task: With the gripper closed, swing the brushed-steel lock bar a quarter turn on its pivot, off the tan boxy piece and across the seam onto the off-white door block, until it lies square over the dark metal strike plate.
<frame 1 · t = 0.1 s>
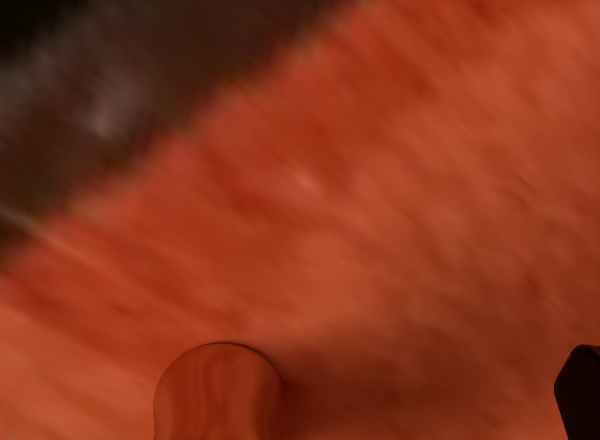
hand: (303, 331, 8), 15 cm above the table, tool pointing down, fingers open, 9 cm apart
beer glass: (220, 398, 26), on the table
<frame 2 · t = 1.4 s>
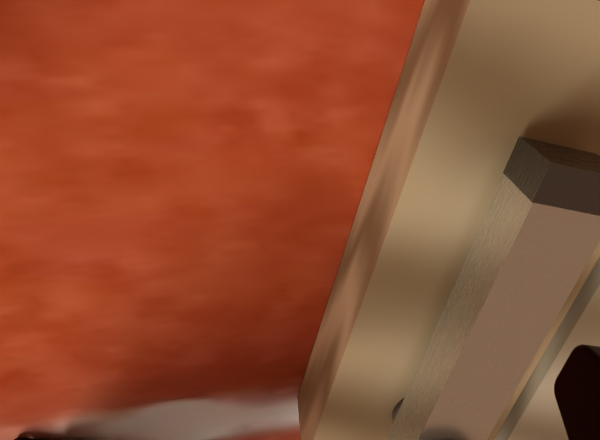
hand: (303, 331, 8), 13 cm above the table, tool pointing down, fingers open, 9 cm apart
latch bar: (487, 343, 18), point 6 cm above the table, hinge at 0.0°
tan boxy piece: (549, 257, 24), on the table
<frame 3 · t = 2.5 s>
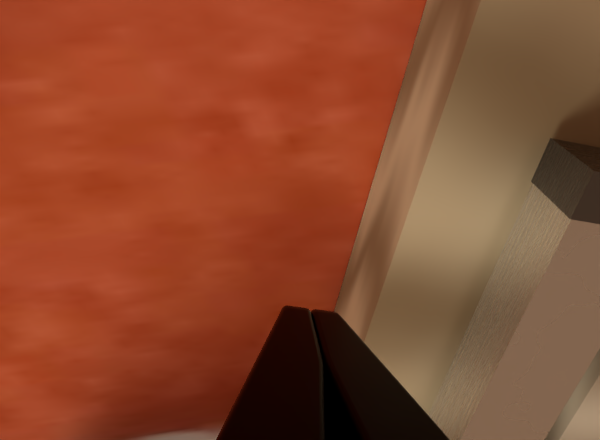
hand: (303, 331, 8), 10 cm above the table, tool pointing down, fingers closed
latch bar: (515, 379, 16), point 6 cm above the table, hinge at 0.0°
tan boxy piece: (579, 270, 21), on the table
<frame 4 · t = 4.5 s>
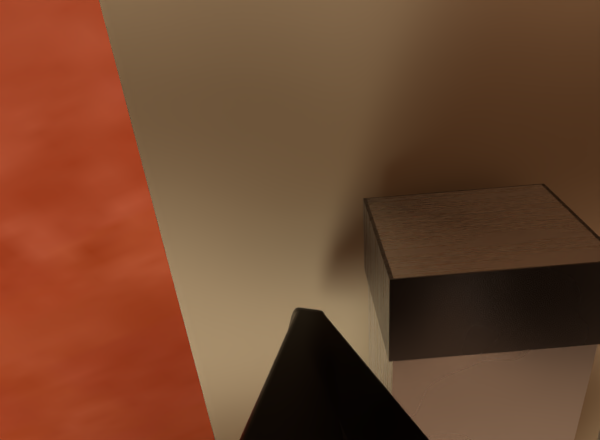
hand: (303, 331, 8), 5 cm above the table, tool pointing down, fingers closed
tan boxy piece: (569, 301, 15), on the table
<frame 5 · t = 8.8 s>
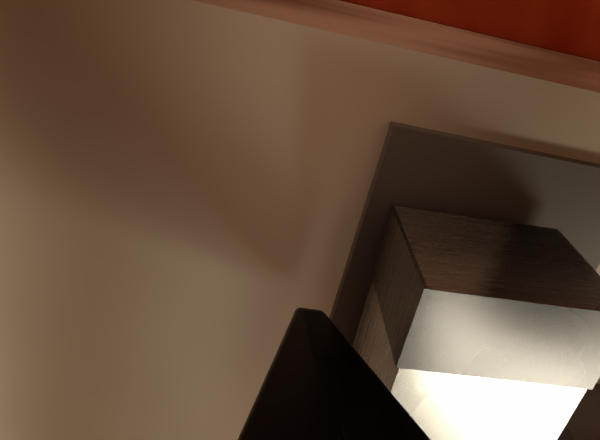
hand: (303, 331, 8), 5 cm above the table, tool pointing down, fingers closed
tan boxy piece: (129, 326, 14), on the table
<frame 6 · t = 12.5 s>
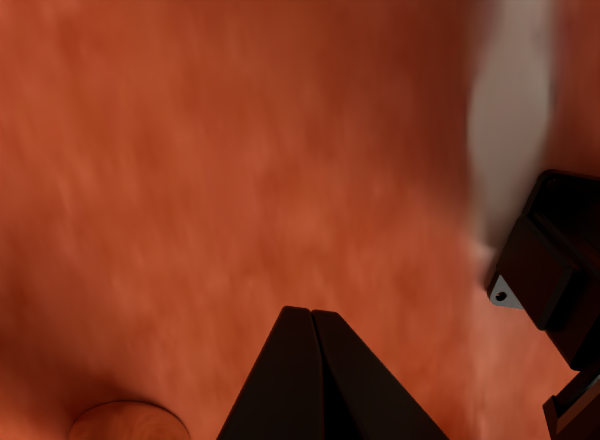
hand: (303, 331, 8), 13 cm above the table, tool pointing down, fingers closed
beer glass: (131, 439, 28), on the table
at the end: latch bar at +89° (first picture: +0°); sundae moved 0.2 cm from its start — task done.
